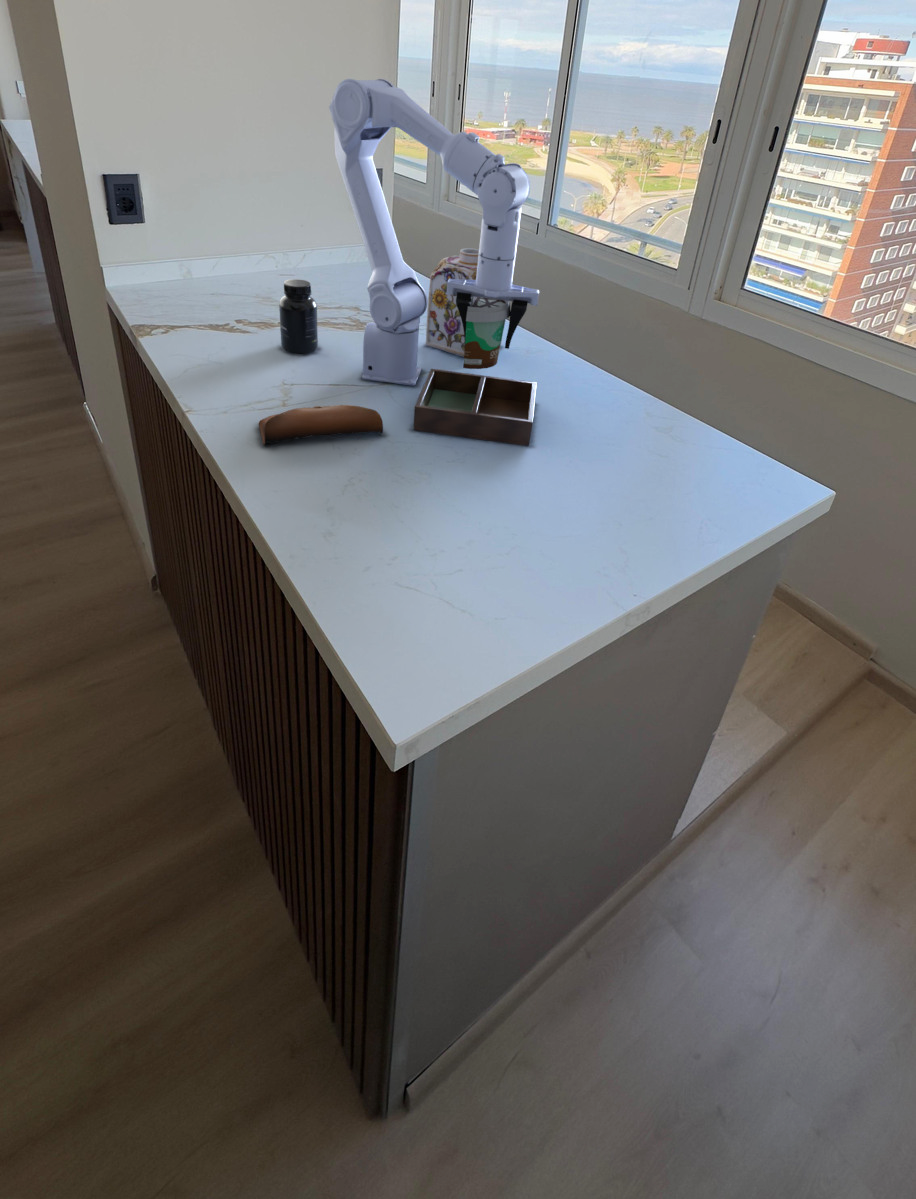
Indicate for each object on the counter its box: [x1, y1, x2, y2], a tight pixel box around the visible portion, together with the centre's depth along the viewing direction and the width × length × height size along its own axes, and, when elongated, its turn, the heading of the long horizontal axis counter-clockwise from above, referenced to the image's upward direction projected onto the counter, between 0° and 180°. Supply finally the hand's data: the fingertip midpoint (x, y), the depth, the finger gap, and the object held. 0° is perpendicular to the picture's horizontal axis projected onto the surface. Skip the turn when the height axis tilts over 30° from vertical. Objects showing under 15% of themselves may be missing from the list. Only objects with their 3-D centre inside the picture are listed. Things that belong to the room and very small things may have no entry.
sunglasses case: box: [258, 404, 384, 445], centre depth 110 cm, size 18×7×7 cm
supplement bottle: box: [278, 278, 319, 355], centre depth 134 cm, size 7×7×12 cm
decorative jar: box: [425, 248, 504, 358], centre depth 141 cm, size 12×12×18 cm
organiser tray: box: [413, 368, 537, 447], centre depth 120 cm, size 18×17×4 cm
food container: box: [462, 297, 511, 370], centre depth 119 cm, size 12×6×10 cm, turn 169°
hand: (486, 344), depth 120 cm, fingers closed on food container, 6 cm apart
